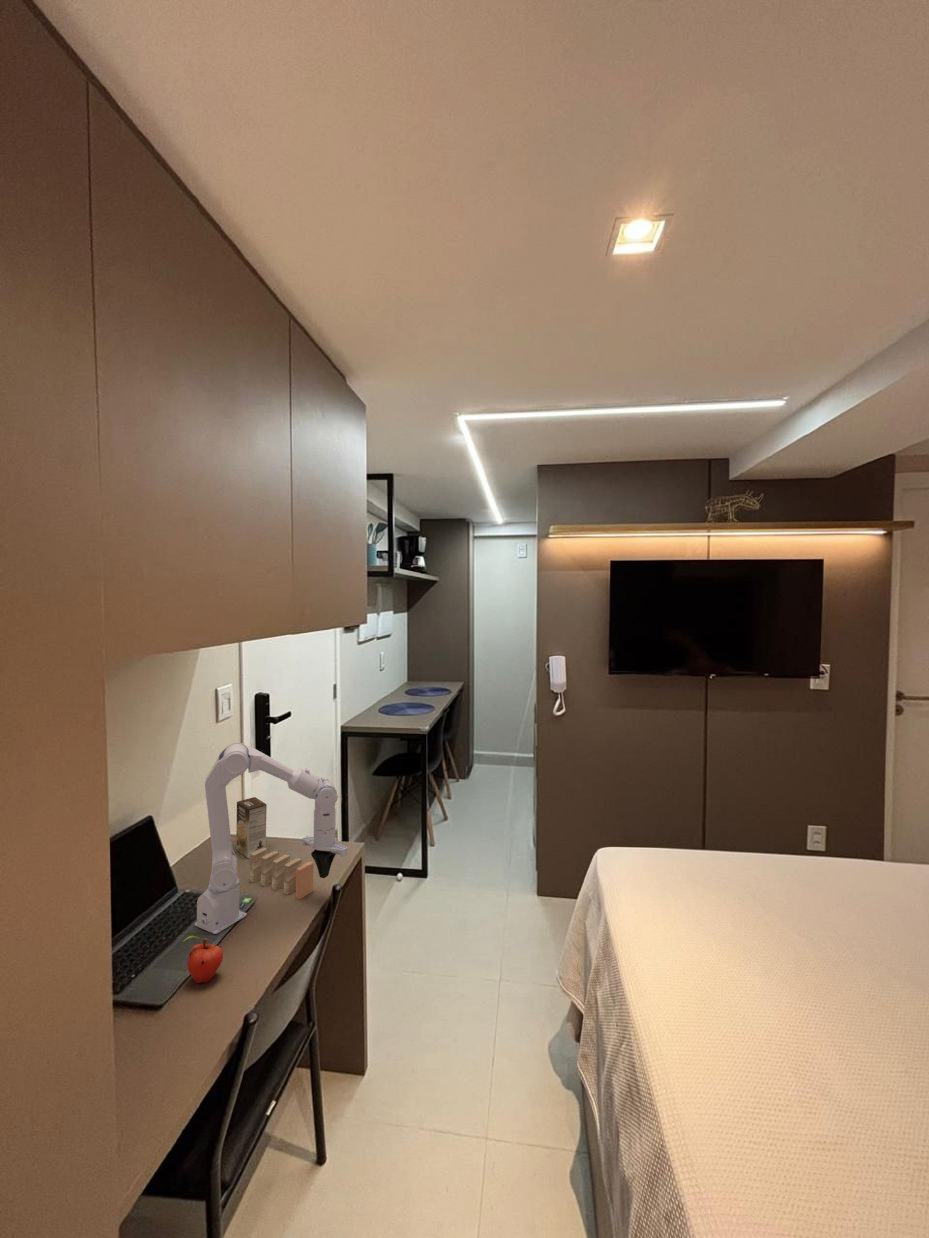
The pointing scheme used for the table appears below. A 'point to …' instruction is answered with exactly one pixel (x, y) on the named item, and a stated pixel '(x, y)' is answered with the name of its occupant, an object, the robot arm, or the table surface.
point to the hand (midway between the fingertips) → (324, 876)
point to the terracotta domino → (304, 880)
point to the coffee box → (250, 826)
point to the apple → (204, 960)
